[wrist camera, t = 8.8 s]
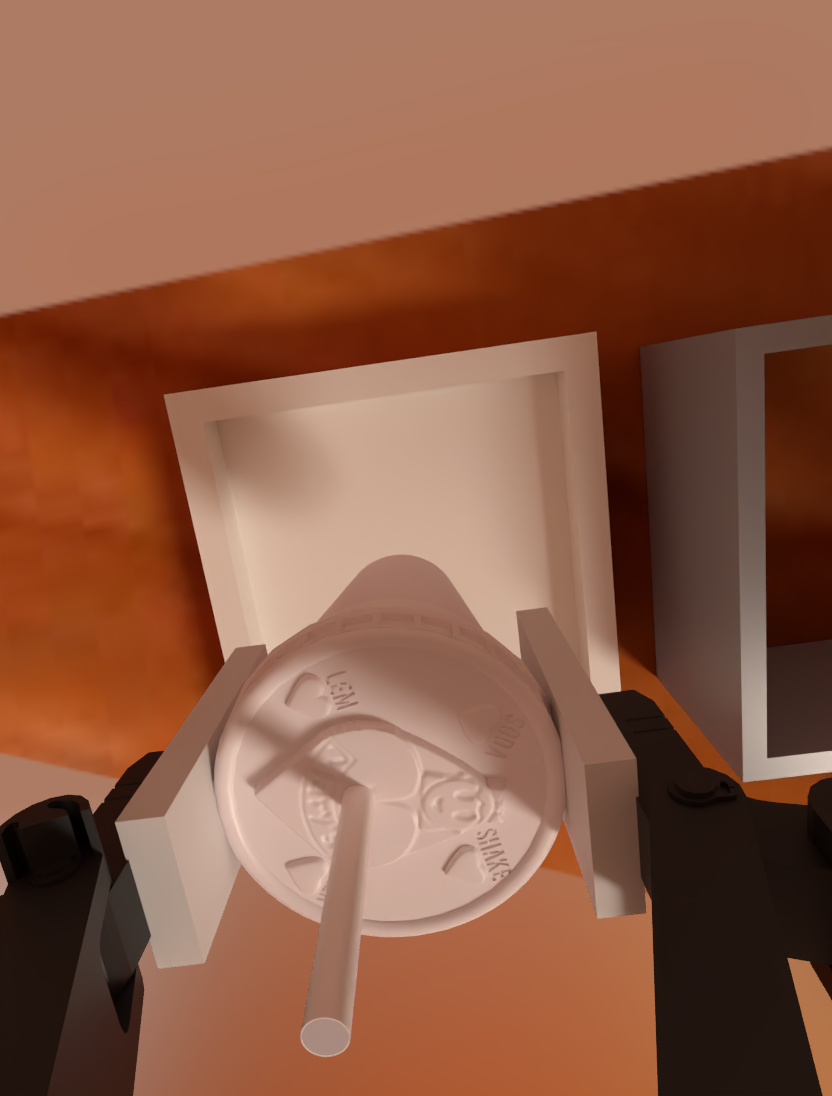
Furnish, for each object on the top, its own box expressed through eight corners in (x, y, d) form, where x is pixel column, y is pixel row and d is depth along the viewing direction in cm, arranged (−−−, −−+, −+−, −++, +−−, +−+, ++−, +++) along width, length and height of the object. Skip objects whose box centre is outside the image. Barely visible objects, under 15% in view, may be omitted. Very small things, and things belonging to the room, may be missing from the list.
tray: (578, 337, 26) (596, 331, 23) (605, 697, 29) (623, 728, 27) (188, 393, 26) (163, 394, 24) (265, 740, 30) (250, 773, 27)
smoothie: (303, 507, 20) (58, 769, 6) (509, 517, 20) (712, 799, 6) (301, 695, 21) (104, 1234, 8) (493, 704, 21) (627, 1253, 8)
